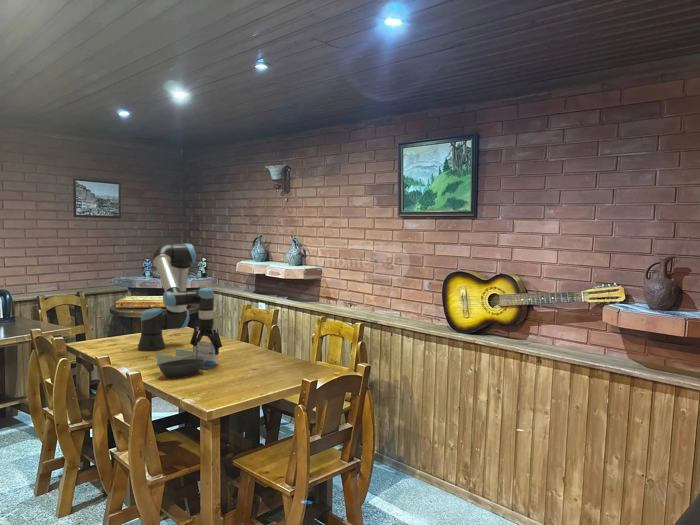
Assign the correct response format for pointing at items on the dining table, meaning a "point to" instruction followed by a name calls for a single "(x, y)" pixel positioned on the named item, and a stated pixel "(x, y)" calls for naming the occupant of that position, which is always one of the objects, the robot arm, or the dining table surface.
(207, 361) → the ink box
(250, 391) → the dining table surface
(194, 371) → the bowl
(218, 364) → the stand mat
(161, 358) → the grey open box
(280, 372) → the dining table surface
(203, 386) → the dining table surface
